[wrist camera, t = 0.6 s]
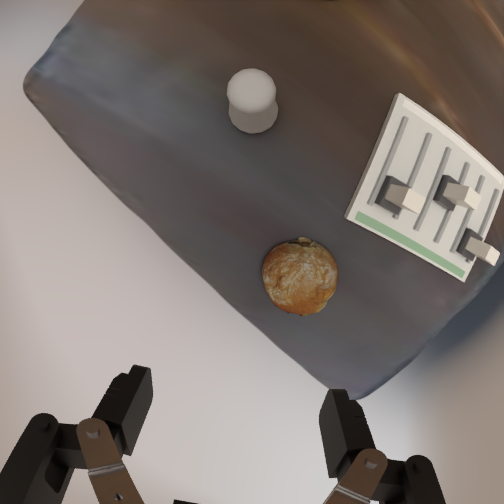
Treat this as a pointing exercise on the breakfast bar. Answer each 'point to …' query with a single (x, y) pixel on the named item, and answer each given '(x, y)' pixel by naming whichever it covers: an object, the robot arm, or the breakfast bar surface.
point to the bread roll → (300, 276)
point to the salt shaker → (252, 100)
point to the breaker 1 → (398, 197)
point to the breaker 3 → (476, 247)
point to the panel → (426, 187)
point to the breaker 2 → (455, 194)
